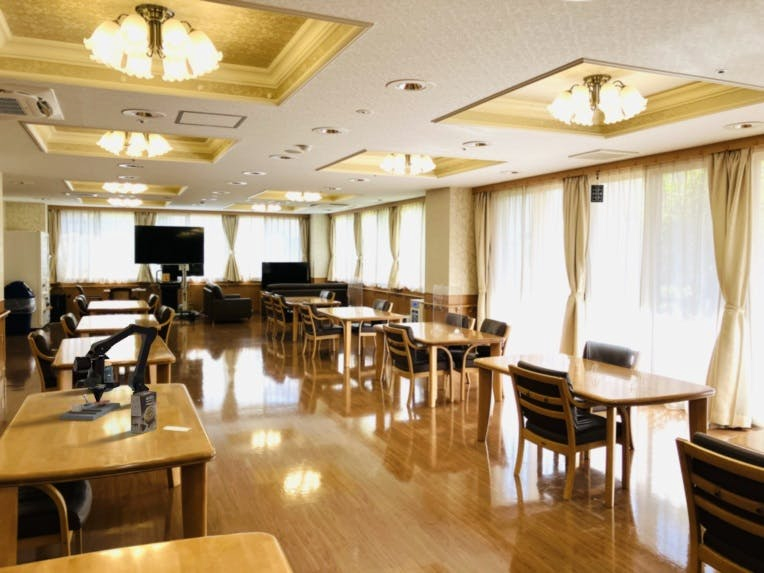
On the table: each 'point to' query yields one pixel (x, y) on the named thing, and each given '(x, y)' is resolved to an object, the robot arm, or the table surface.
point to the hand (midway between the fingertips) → (97, 402)
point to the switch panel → (90, 411)
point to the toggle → (85, 398)
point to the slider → (77, 407)
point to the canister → (108, 374)
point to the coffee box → (143, 412)
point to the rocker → (102, 402)
